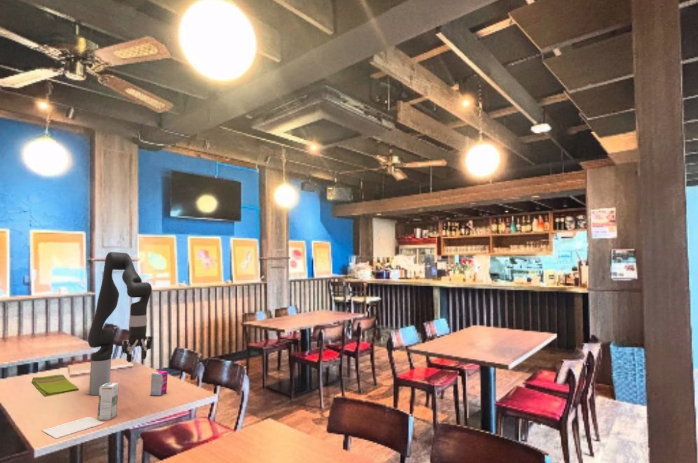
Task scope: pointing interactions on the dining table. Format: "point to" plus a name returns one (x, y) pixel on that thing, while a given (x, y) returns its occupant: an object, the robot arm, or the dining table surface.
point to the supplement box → (158, 383)
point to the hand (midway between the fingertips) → (136, 360)
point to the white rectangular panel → (72, 427)
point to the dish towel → (53, 385)
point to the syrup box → (108, 401)
